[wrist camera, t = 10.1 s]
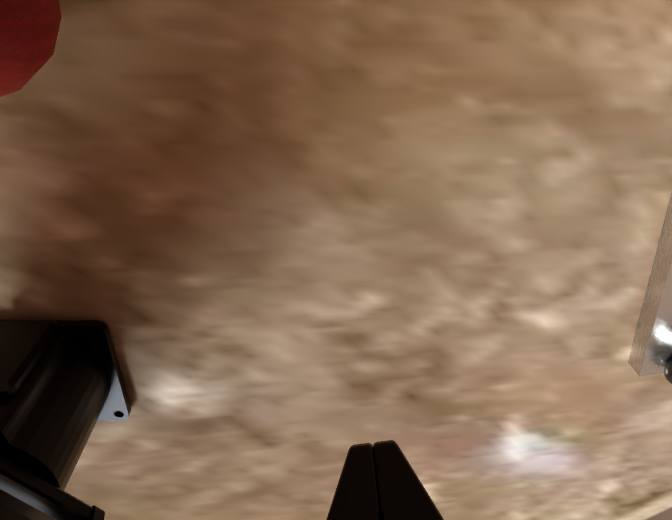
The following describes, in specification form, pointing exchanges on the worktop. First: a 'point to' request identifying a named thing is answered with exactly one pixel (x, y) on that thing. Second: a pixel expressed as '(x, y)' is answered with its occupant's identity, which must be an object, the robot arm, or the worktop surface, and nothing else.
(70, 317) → the worktop surface
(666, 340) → the grey handled base plate
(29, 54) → the onion
